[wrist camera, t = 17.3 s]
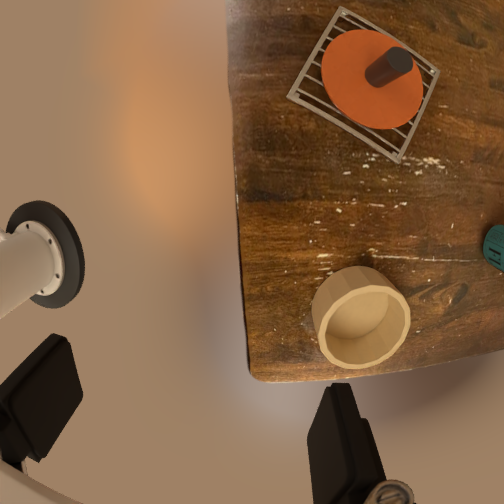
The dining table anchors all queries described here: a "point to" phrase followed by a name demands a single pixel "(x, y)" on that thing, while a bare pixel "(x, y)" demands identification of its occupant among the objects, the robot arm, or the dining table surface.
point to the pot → (359, 317)
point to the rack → (294, 98)
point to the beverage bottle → (495, 246)
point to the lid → (372, 79)
